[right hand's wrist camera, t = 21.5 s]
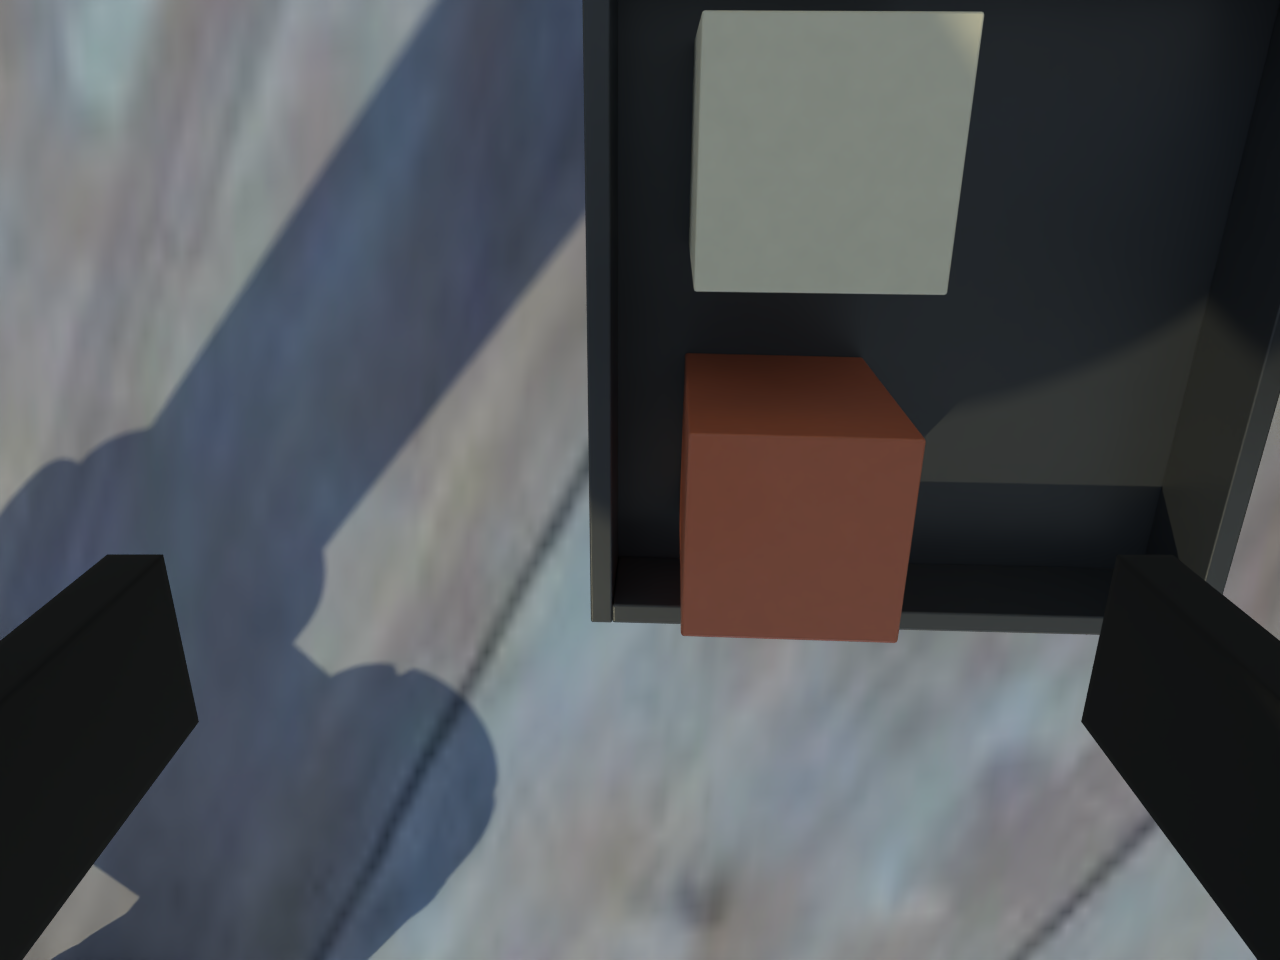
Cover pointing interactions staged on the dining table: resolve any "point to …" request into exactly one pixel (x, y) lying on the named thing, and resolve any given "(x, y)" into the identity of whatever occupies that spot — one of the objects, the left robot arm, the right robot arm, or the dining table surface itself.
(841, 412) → the terracotta block
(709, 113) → the cream block
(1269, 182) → the tray
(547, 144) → the dining table surface
